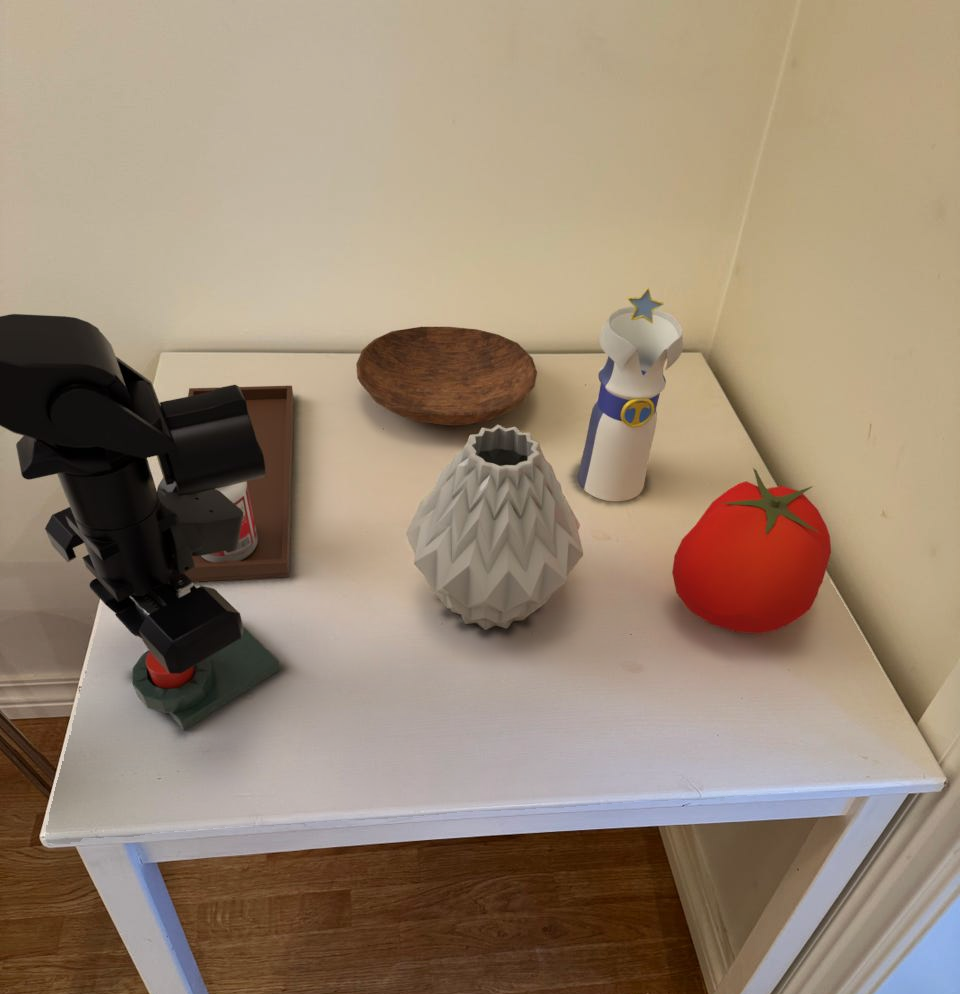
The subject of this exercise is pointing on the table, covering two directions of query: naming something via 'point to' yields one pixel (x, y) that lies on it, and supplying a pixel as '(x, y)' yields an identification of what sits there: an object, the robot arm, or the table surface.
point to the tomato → (753, 559)
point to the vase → (495, 530)
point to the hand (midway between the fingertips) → (165, 647)
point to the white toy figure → (628, 398)
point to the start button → (166, 674)
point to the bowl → (446, 374)
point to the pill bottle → (248, 528)
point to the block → (208, 681)
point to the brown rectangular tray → (263, 490)
